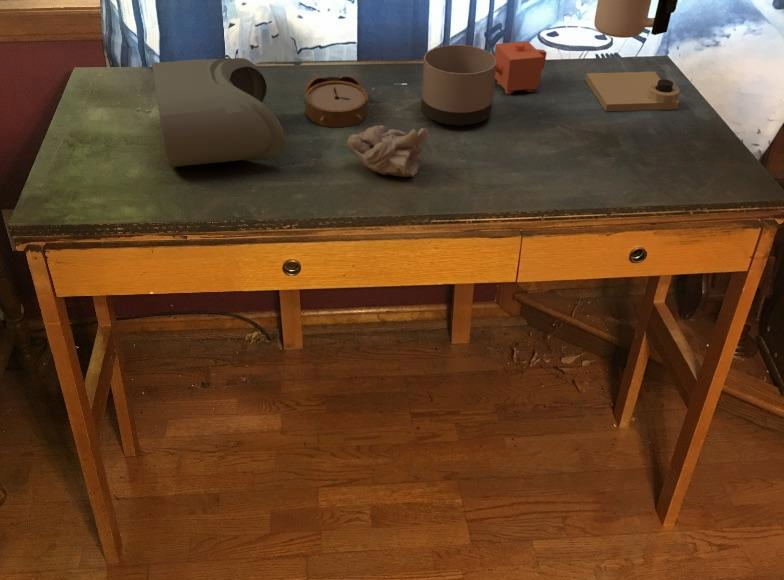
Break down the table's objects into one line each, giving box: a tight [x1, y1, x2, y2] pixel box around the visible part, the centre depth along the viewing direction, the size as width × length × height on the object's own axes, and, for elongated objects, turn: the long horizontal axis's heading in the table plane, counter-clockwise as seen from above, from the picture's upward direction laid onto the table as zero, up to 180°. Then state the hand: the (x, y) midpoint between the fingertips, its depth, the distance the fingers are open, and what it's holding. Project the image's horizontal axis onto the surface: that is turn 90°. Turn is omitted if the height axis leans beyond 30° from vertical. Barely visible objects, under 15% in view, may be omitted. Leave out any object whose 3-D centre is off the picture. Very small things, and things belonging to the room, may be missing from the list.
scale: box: [584, 71, 681, 112], centre depth 165 cm, size 14×14×3 cm
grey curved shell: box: [151, 57, 286, 168], centre depth 143 cm, size 22×19×13 cm
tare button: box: [656, 79, 674, 93], centre depth 161 cm, size 3×3×2 cm
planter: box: [420, 44, 497, 127], centre depth 154 cm, size 13×13×10 cm
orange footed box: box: [493, 40, 547, 94], centre depth 165 cm, size 8×12×8 cm, turn 105°
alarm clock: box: [305, 75, 368, 128], centre depth 158 cm, size 11×5×15 cm
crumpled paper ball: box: [346, 124, 429, 178], centre depth 140 cm, size 8×10×12 cm
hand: (630, 20), depth 139 cm, fingers closed on mug, 12 cm apart
